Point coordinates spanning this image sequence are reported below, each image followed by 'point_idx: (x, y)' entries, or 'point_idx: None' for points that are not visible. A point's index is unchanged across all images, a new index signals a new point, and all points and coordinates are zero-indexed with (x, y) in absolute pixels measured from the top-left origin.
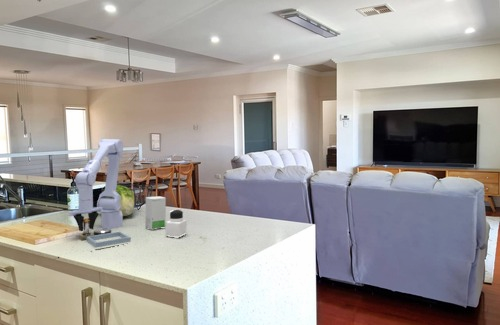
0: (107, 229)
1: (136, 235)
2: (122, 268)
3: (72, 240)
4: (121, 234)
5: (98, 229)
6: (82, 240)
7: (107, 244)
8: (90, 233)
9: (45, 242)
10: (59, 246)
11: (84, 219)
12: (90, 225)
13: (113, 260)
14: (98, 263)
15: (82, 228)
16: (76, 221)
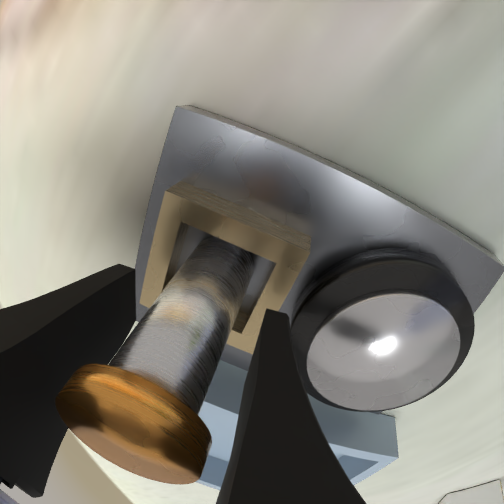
0: (432, 376)
1: (467, 433)
2: (132, 492)
3: (135, 153)
4: (352, 472)
5: (408, 304)
6: (136, 315)
7: None
8: (259, 302)
9: (13, 46)
10: (25, 219)
11: (91, 433)
12: (252, 365)
13: (140, 478)
14: (99, 458)
15: (110, 345)
16: (2, 314)
